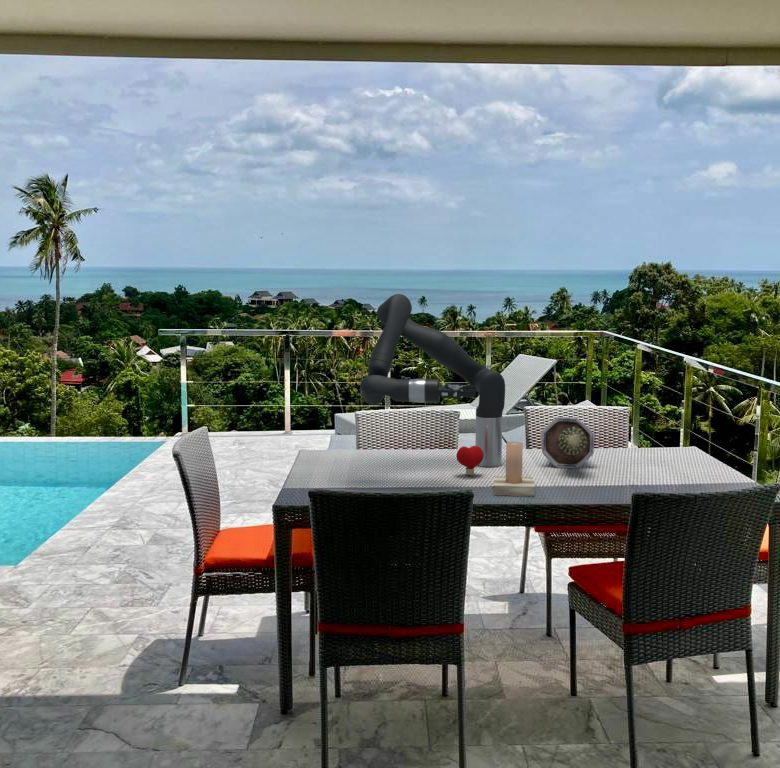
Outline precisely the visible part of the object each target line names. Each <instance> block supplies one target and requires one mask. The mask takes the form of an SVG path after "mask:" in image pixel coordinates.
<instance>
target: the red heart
mask: <svg viewBox="0 0 780 768" xmlns="http://www.w3.org/2000/svg"><path fill="white" fill-rule="evenodd" d="M483 457H484V453H483V451H482V449H481V448H480V447H478V446H475V445H473V446H470V447H468V446H461V447H459V448H458V450H457V452H456V460H457V461H458V463H459V464H460V465H461V466H463V467H465V475H467V476H468V477H472V476H473V475H475V468H476V467H478V465H479V464H480V463H481V462H482V460H483Z"/></svg>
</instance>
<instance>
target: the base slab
mask: <svg viewBox="0 0 780 768" xmlns="http://www.w3.org/2000/svg"><path fill="white" fill-rule="evenodd" d="M493 479H494V483H493V487H494V489H493V490H494V491H493V492H494V494H493V495H511V496H510V497H526V496H535V490H536V487H535V481H534V477H530V476H529V477H527V476H522V482H521V483H517V484H512V483H507V482H506V476H494V477H493Z"/></svg>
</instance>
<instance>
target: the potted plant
mask: <svg viewBox="0 0 780 768" xmlns="http://www.w3.org/2000/svg"><path fill="white" fill-rule="evenodd" d="M540 438H541V453H542V454H543V456H544V457H545V458H546V459H547V461H549V462H550V463H551V464H552V465H553V466H554V467H555V468H557V467H558V469H579V468H581V467H582V466H583V465H584V464H585V463H586V462H587V461H589V460H590V459H591V457H592V456H593V455H594V451H595V450H594V448H595V445H594V444H595V443H594V441H595V440H594V433H593V431H592V430H591V428H589V427H588V426H587V425H586V424H585V423H584V422H582V421H581V420H580V419H579V418H576V417H562V416H561V417H560V416H559V417H558V416H557V417H555V418H554V419H553V420H552V421H551V422H550V423H549V424H547V425H546V426H545V427H544V428H543V429H542V430H541V436H540Z"/></svg>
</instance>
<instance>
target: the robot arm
mask: <svg viewBox="0 0 780 768" xmlns="http://www.w3.org/2000/svg"><path fill="white" fill-rule="evenodd" d="M412 307H413V305H412V302H411V300H410V299H409V298H408V297H407V296H406V295H404V294H401V293H396V294H393V295H391V296H389V298H387V299H386V300H385V301H384V302H383V303H381V304H380V305H379V306H378V307H377V312H376V314H377V317H378V320H379V321H380V323H381V324H382V325H383V326H384V327H383V329H382V332H381V334H380V335H379V337H378V339H377V341H376V343H375V345H374V348H373V349H372V351H371V352H372V353H371V355H370V359H369V362H368V366H367V367H368V368H367V373H368V374H367V376H365V377H364V378H362V379H361V380H360V381H361V382H360V391H361V394H362V398H363V400H364V402H365V403H366V404H368V405H370V406H375V405H378V404H380V403H381V402H382V401H383V399H384V398H385V396H387V397H390V398H391V399H392V400H393V401H395V402H405V403H406V402H410V403H411V402H412V403H424V404H426V403H427V404H428V403H429V404H438V403H440V397H441V399H459V400H460V399H463V398H475V397H476V396H477V395H476V393H478V395H479V397H478V405H477V406H476V408H475V442H474V443H475V444H474V446H478V447H480V448H481V449H482V451H483V453H484V457H483V460H482V462H481V463H480V464H479V465H477V467H478V466H479V467H485V468H488V467H489V468H495V467H496V468H497V467H500V466H502V462H503V461H502V455H503V454H502V452H503V411H504V408H505V403H506V402H505V401H506V382H505V381H506V380H505V378H504V376H503V375H502V374H501V373H500V372H497V371H495V370H492V369H490V368H487V367H486V366H484V365H482V364H480V363H479V362H477V361H476V360H474V359H473V358H472V357H471V355H469V354H468V353H467V352H466V350H465V349H463V347H462V346H461V345H459V343H457V341H455V339H452V338H451V337H450V336H449V335H447V334H446V333H445V332H444V331H441V330H438V329H436V328H432V327H428V326H425V325H421V324H419V323H417V322H415V321H414V320H412V319H411V318H410V316H411V313H412V312H413V311H412V310H413V309H412ZM400 337H403V338H404V339H406V340H407V341H408V342H410V343H412V344H413V345H414V346H416V347H417V348H419V350H421V351H422V352H424V353H426V354H427V355H428V356H429V357H430V358H432V359H433V360H435V362H437V363H438V364H440V365H442V366H443V367H444V368H447V369H448V370H450V371H452V372H453V373H455V374H457V375H458V376H460V377H461V378H462V379H463V380H464V381H465V382H466V383H468V384H469V385H464V384H462V383H459V384H455V383H454V384H453V383H450V384H449V383H444V384H443V385H441V383H440V382H441V381H440V379H439V378H412V379H410V378H409V379H402V378H401V379H399V378H398V379H396V378H394V377H390V376H389V373H390V369H391V366H392V364H393V363H392V362H393V359H394V356H395V353H396V349H397V346H398V344H399V340H400Z"/></svg>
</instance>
